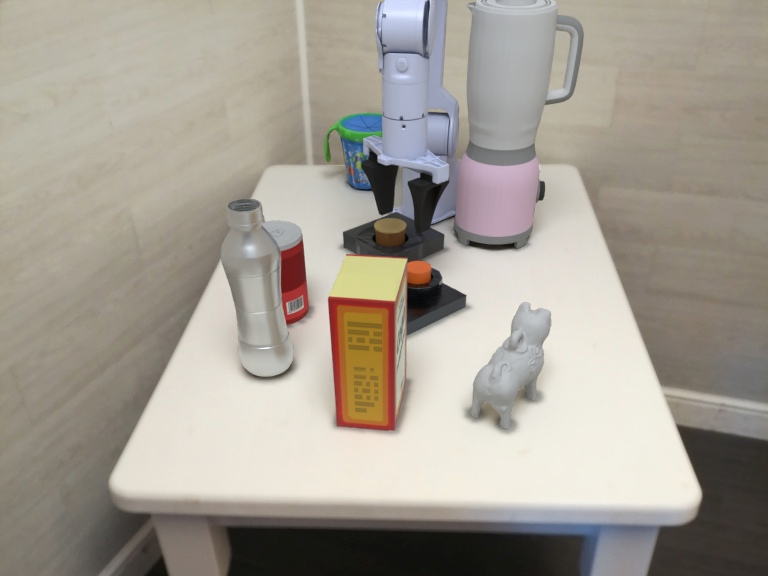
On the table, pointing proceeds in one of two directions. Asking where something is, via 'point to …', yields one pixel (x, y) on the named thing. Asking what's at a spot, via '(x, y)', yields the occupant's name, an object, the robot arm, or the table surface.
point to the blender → (509, 115)
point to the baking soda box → (369, 340)
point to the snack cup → (355, 143)
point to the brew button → (418, 272)
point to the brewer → (431, 302)
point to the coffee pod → (390, 232)
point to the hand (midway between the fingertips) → (403, 221)
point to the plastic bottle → (256, 290)
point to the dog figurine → (513, 364)
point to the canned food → (291, 268)
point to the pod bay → (413, 248)
